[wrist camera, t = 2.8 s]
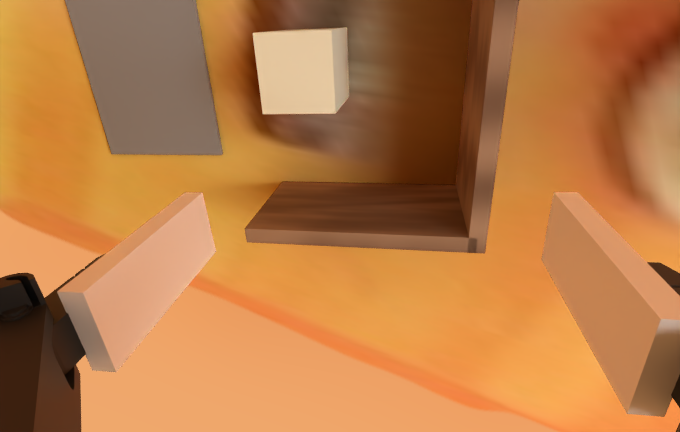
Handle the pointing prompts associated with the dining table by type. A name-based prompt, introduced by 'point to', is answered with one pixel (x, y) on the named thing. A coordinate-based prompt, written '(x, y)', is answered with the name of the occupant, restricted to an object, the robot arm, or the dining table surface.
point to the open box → (413, 199)
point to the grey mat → (148, 75)
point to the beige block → (302, 70)
